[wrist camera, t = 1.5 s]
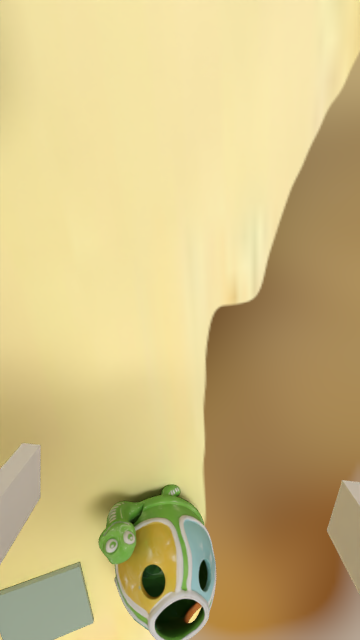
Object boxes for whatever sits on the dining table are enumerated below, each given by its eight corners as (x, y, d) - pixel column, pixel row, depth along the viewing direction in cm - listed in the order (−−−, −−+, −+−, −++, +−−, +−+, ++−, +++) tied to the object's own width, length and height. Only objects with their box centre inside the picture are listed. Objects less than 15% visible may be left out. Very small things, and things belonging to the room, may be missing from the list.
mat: (10, 652, 38) (9, 658, 38) (-11, 594, 35) (-13, 600, 35) (93, 617, 41) (93, 622, 40) (80, 562, 38) (79, 566, 38)
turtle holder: (143, 446, 37) (163, 528, 26) (213, 516, 43) (253, 606, 32) (67, 510, 36) (54, 623, 25) (150, 572, 42) (170, 685, 31)
